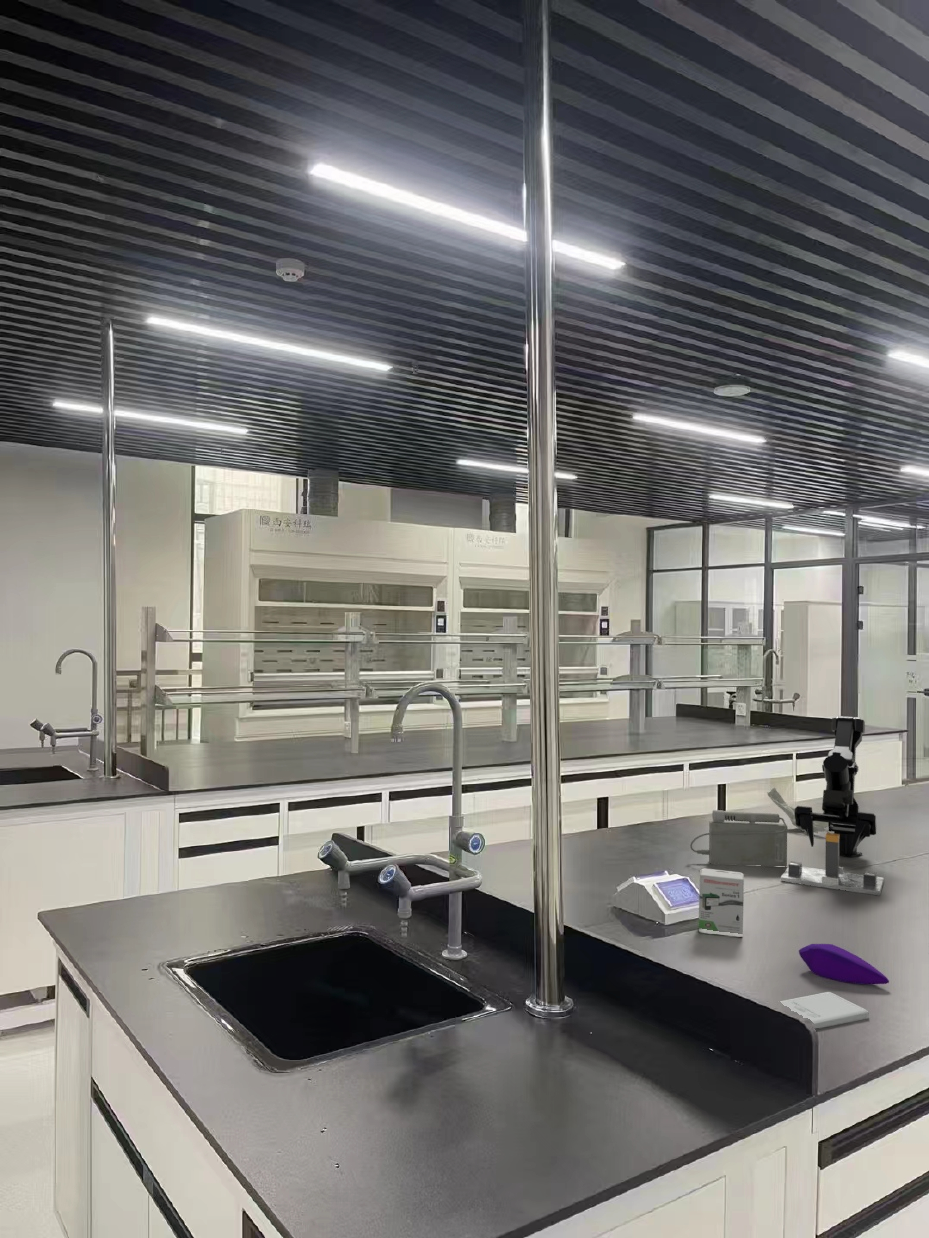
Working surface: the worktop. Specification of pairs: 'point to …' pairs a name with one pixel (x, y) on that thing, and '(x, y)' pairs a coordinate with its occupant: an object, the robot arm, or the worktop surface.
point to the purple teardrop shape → (840, 965)
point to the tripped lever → (832, 855)
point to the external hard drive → (826, 1009)
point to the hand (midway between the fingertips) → (832, 848)
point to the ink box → (721, 900)
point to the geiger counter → (746, 839)
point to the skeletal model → (790, 811)
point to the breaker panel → (834, 879)
